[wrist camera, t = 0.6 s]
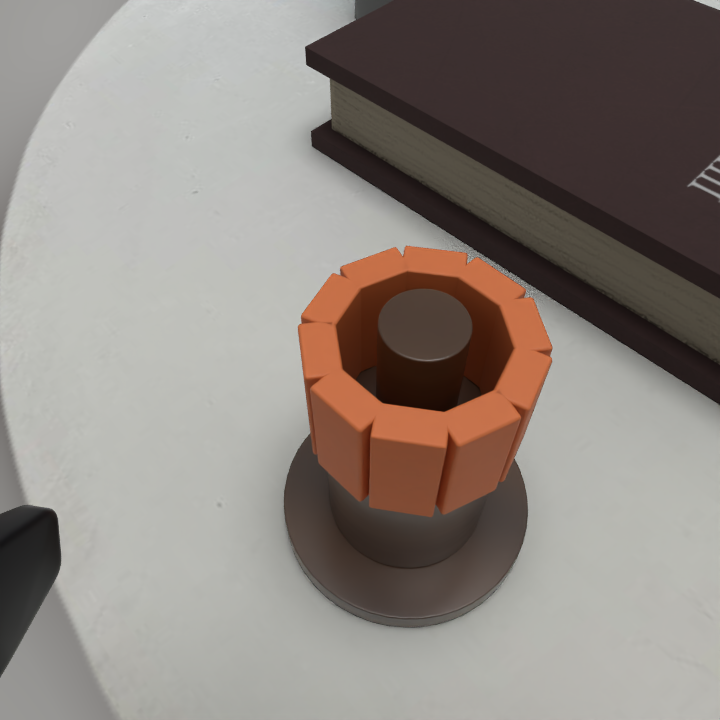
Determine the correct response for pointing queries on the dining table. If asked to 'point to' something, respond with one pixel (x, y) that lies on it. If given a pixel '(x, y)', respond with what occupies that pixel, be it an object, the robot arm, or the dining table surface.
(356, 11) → the candle holder
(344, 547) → the peg stand
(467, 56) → the book
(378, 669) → the dining table surface
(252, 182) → the dining table surface
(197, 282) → the dining table surface
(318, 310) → the ring
